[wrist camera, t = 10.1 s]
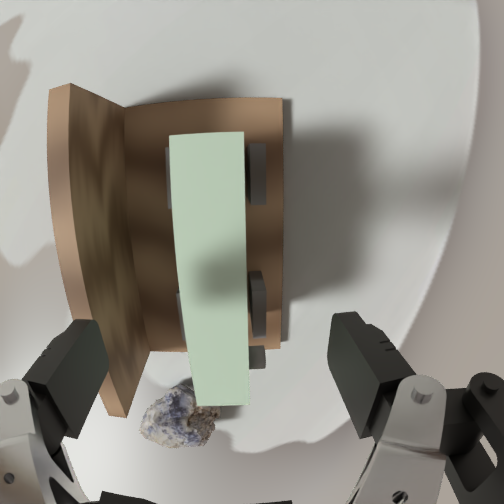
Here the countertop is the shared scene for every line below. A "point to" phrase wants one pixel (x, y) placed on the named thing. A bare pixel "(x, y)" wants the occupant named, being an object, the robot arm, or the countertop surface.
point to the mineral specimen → (179, 419)
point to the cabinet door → (213, 264)
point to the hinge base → (152, 220)
